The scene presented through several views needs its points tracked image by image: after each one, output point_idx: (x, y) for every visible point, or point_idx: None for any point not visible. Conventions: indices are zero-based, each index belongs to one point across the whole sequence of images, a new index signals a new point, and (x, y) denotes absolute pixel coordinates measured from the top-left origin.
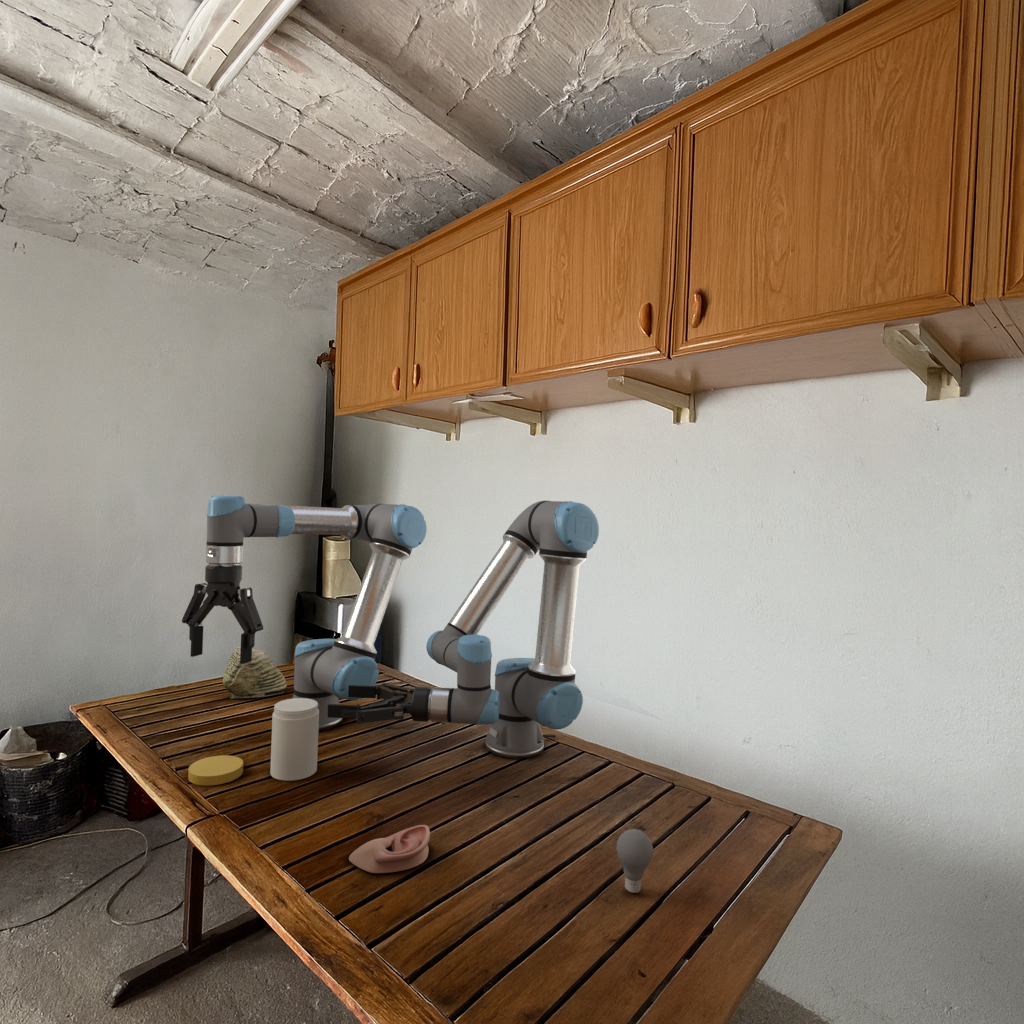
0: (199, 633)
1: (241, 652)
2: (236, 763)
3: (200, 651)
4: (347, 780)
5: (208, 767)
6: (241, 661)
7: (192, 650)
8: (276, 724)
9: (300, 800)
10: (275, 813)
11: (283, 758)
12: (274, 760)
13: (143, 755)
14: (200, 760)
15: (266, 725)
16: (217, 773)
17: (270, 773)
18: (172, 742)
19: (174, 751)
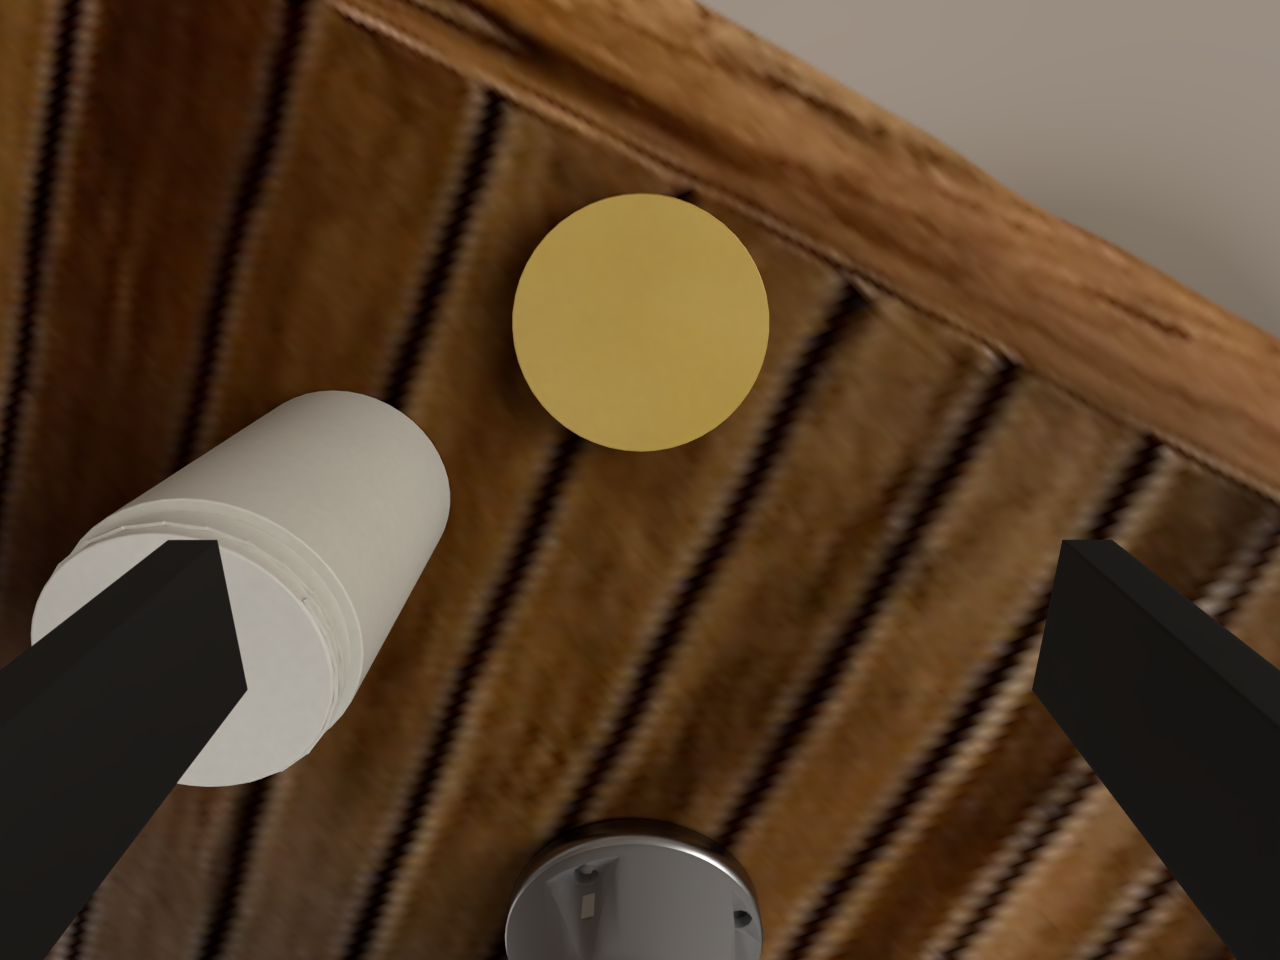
0: (1271, 891)
1: (97, 625)
2: (567, 387)
3: (1060, 685)
4: (72, 502)
5: (657, 294)
6: (175, 554)
7: (1132, 584)
8: (251, 488)
9: (91, 256)
10: (82, 97)
11: (273, 421)
12: (342, 420)
13: (1129, 354)
14: (756, 345)
15: (811, 823)
16: (562, 253)
17: (410, 421)
18: (1097, 526)
19: (1014, 449)
